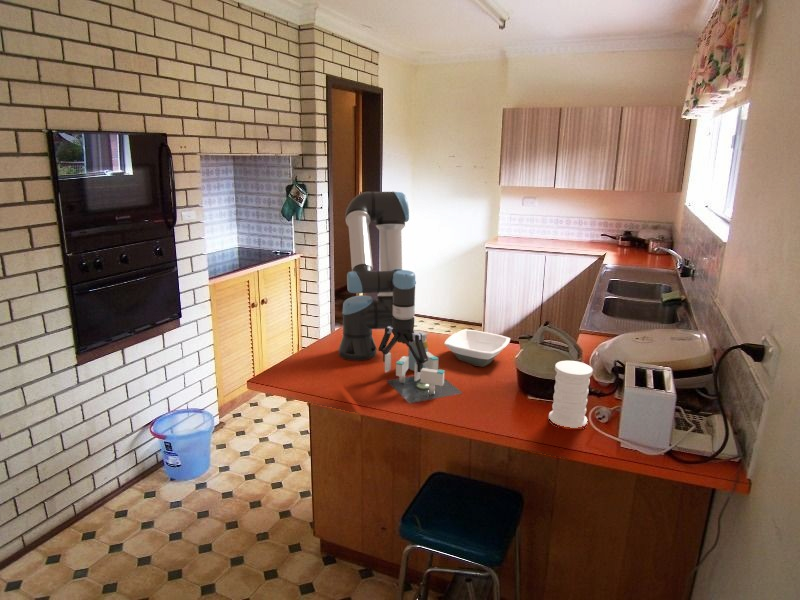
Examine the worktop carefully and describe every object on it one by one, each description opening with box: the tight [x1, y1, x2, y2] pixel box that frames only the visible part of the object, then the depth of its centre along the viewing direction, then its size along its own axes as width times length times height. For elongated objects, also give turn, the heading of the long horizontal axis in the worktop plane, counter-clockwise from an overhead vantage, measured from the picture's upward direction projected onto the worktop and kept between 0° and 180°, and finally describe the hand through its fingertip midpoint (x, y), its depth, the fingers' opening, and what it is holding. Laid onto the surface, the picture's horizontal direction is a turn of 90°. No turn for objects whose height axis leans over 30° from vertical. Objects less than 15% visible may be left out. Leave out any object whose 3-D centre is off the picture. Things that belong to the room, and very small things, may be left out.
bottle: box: [407, 329, 429, 372], centre depth 206 cm, size 7×7×15 cm
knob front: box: [420, 368, 445, 394], centre depth 185 cm, size 8×2×8 cm, turn 71°
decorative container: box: [548, 360, 594, 428], centre depth 170 cm, size 12×12×18 cm
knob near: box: [395, 355, 409, 383], centre depth 193 cm, size 8×2×8 cm, turn 162°
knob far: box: [423, 351, 440, 370], centre depth 198 cm, size 8×2×8 cm, turn 25°
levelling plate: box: [386, 374, 463, 404], centre depth 192 cm, size 19×20×2 cm
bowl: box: [443, 328, 511, 368], centre depth 217 cm, size 22×23×8 cm
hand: (402, 375), depth 194 cm, fingers open, 12 cm apart
